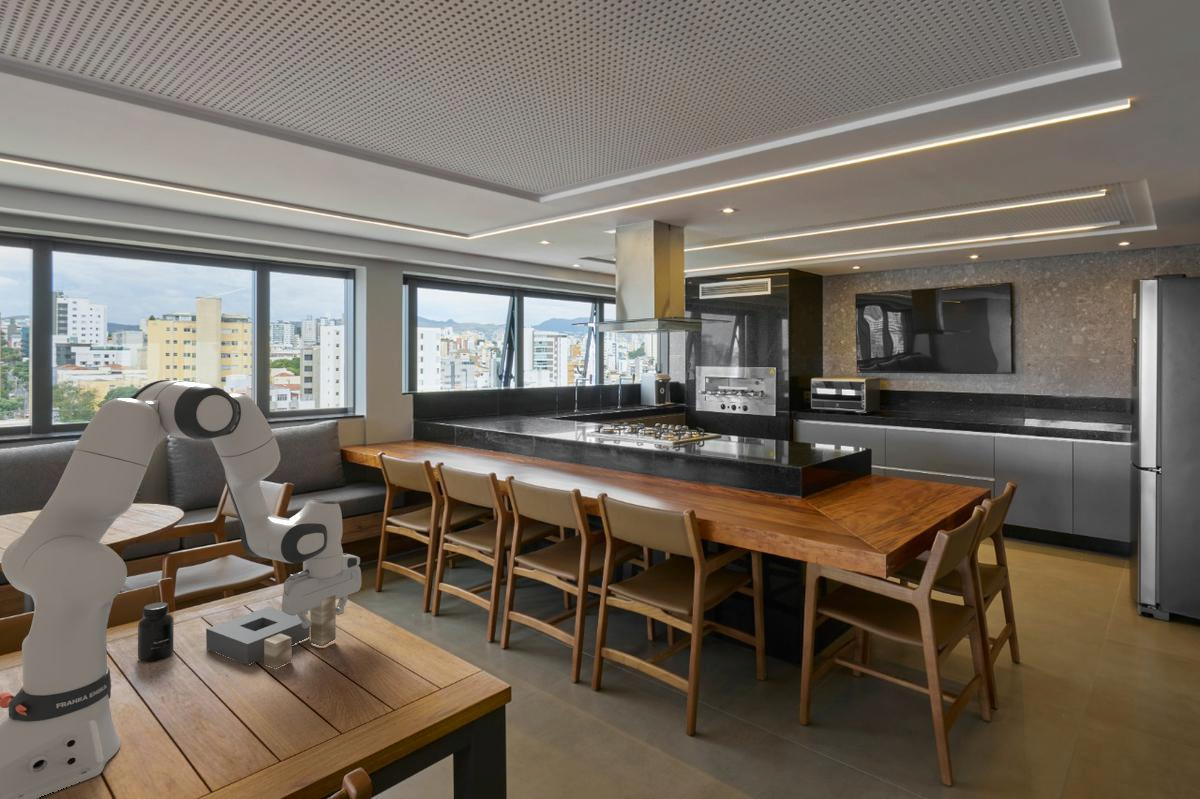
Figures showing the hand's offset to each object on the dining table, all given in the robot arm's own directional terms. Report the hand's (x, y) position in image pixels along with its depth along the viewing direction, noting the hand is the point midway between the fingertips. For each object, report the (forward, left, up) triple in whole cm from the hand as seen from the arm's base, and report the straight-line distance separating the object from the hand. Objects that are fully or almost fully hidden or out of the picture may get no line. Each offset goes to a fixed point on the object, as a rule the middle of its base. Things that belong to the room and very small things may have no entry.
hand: (323, 620), depth 156 cm
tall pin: (0, 0, -6) cm, 6 cm away
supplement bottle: (-24, +27, -6) cm, 37 cm away
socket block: (-8, +13, -6) cm, 16 cm away
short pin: (-12, 0, -6) cm, 13 cm away
